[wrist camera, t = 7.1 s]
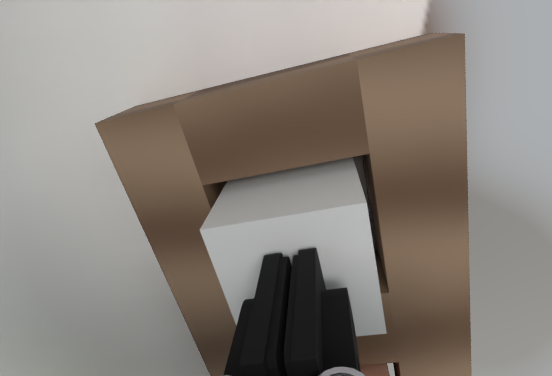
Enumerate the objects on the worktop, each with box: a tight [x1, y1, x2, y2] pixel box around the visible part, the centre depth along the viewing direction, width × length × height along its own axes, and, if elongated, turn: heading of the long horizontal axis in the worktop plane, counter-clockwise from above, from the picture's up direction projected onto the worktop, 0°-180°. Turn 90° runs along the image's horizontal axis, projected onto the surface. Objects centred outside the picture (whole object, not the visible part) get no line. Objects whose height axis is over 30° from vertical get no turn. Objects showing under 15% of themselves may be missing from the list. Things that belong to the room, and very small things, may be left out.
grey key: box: [200, 157, 387, 336], centre depth 13 cm, size 5×5×4 cm
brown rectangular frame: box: [95, 33, 471, 376], centre depth 16 cm, size 22×12×3 cm, turn 14°
